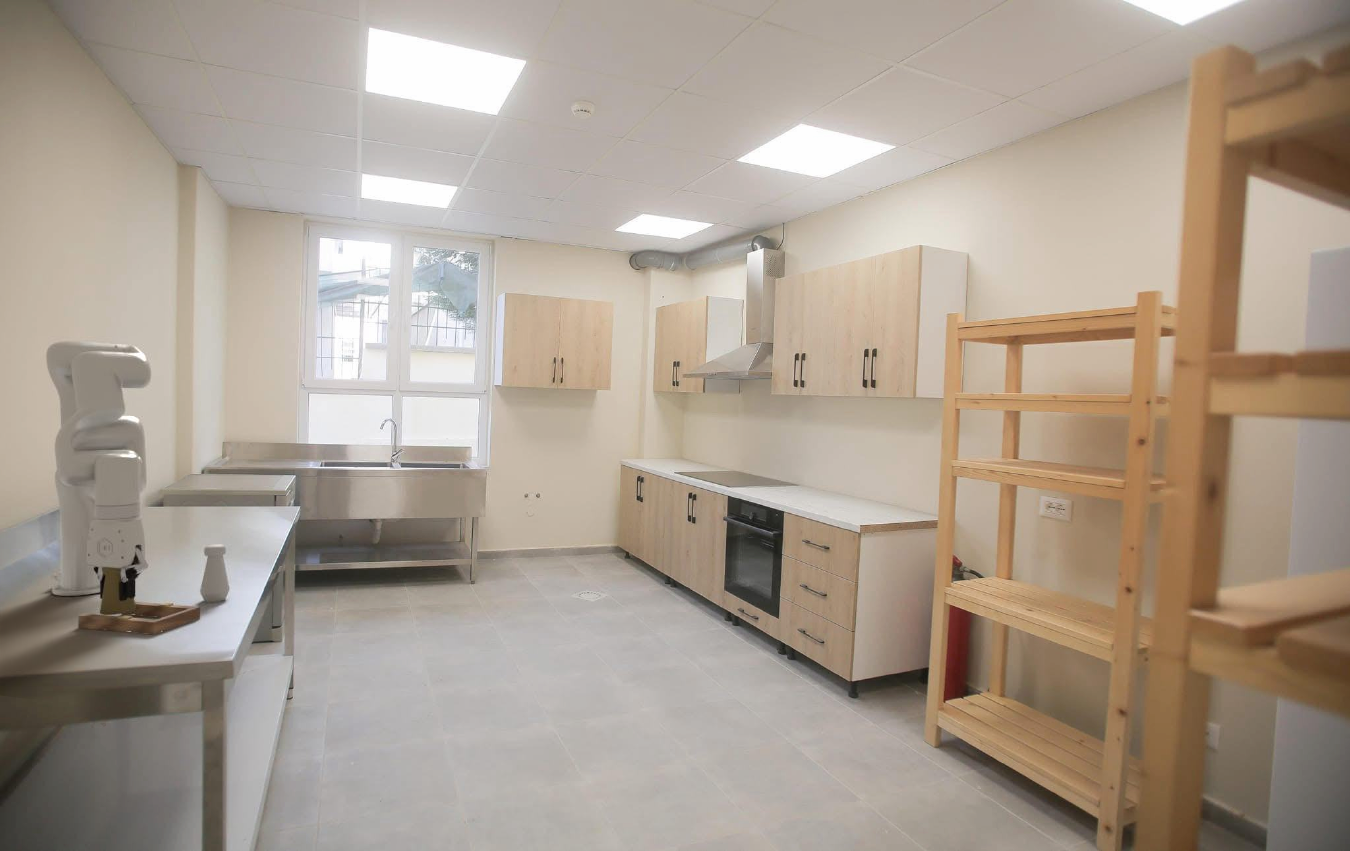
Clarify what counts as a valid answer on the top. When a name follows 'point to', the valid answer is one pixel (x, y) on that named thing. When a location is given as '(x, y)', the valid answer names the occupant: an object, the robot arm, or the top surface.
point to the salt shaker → (215, 575)
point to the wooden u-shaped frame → (168, 611)
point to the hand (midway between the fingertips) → (117, 597)
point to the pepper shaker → (114, 594)
